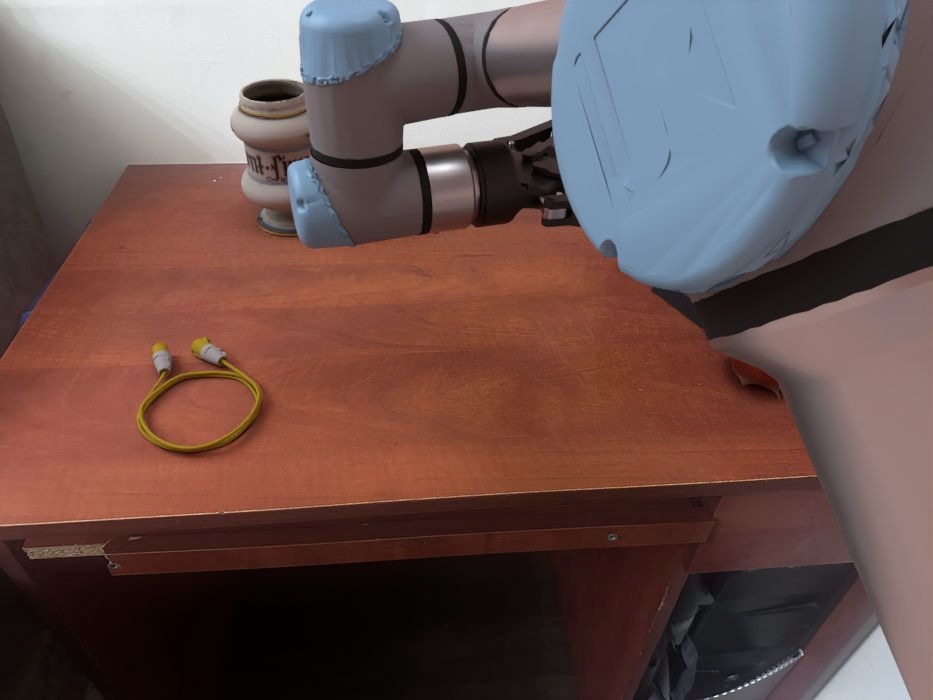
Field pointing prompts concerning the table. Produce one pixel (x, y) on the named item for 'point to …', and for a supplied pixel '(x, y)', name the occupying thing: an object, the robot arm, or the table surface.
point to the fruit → (754, 376)
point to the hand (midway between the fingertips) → (671, 160)
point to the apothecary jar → (272, 147)
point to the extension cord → (203, 351)
